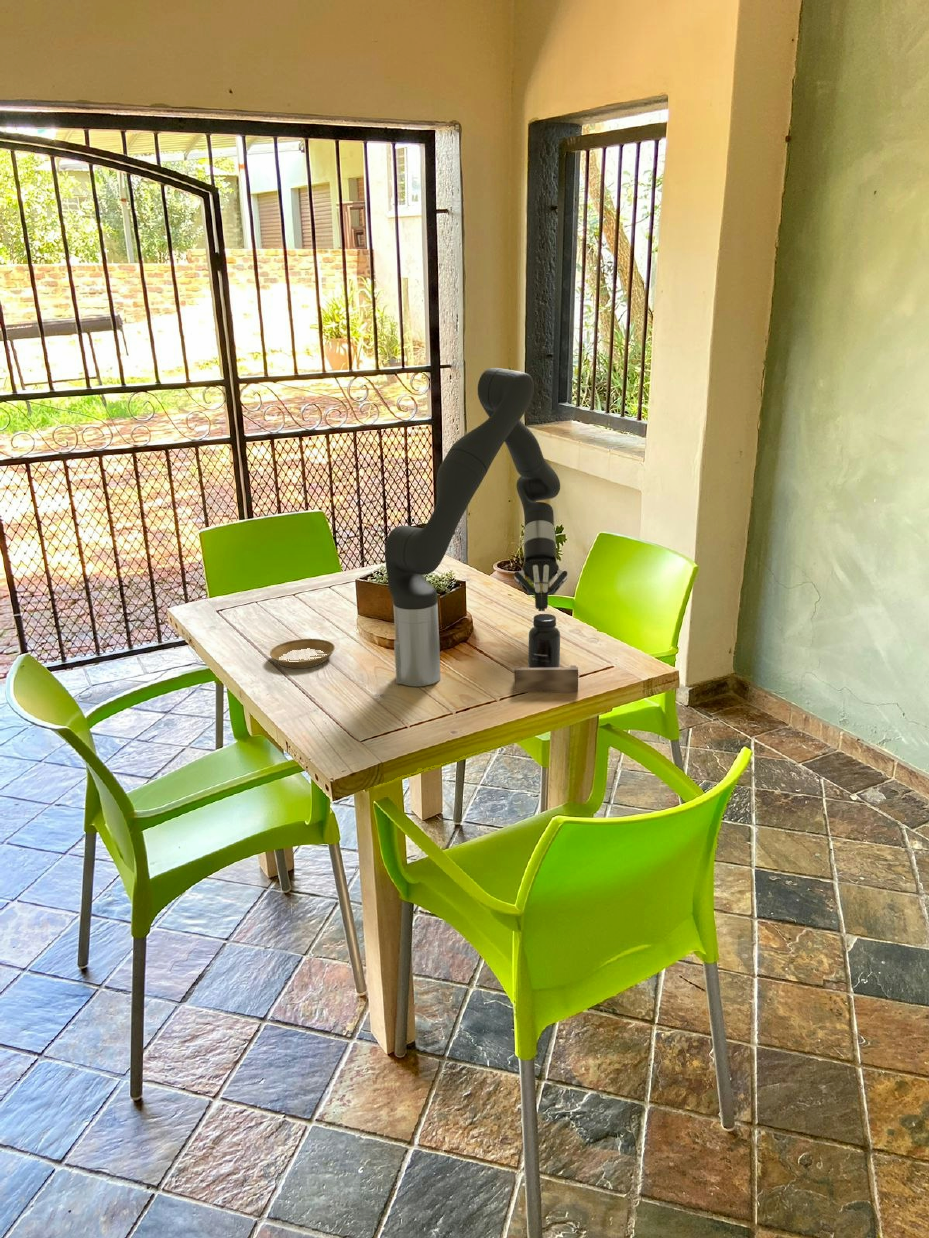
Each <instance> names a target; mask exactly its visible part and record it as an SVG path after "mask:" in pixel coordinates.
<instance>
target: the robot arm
mask: <svg viewBox="0 0 929 1238" xmlns="http://www.w3.org/2000/svg"><path fill="white" fill-rule="evenodd" d="M534 389H535V384H534V379H533V378H532V376H531V375H530V374H529V373H527V372H523V371H520V370H513V369H506V368H501V367H500V368H499V367H489V368H487V369H486V370H484V371H483V372H482V373H481V374H480V377H479V379H478V383H477V397H478V400H479V403H480V405H481V407H482V408H483V410H484V411H485V413H486V415H487V416H488V419H486V420H485V421H484V422H482V423H481V424H480V425H478V426H477V427H475V428H474V429H472V430H471V431H469V432H467V433H465V435H463V436H461V438H460V437H459V439H458V440H457V441H455V442H454V443H453V445H451V447H450V448H449V450H448V452H447V454H446V455H445V457H444V458H443V460H442V462H441V464H440V466H439V468H438V470H437V474H436V483H435V484H436V485H435V487H436V504H435V507H434V510H433V511H432V514H431V516H430V517H429V519H428V521H427V523H426V524H425V525H424V527H423V528H421V527H415V526H410V525H398V526H396V527H394V528H393V529H392V530H391V531H390V532H389V534H388V535H387V539H386V541H385V546H384V547H385V548H384V559H385V561H384V562H385V570H386V577H387V586H388V590H389V592H390V595H391V597H392V605H393V618H394V619H393V620H394V637H395V638H394V642H393V647H394V648H393V649H394V650H393V652H394V663H395V664H394V665H395V667H394V668H395V681H396V682H395V683H396V684H397V685H398V684H399V685H404V686H408V687H425V686H430V685H434V684H436V683H438V682H439V680H441V677H442V676H441V657H440V654H441V653H440V634H439V630H440V629H439V613H438V612H439V609H438V608H439V607H438V593H437V590H436V589H437V588H435V586H434V585H432V584H431V583H430V582H429V581H428V580H427V579H426V578H425V575H429V574H431V573H434V572H435V571H436V570H437V568H439V566H440V564H441V563H442V561H443V559H444V557H445V555H446V553H447V550H448V548H449V546H450V544H451V541H452V539H453V537H454V534H455V532H456V529H457V528H458V526H459V523H460V521H461V519H462V518H463V515H464V514H465V511H466V510H467V509H468V506H469V505H470V502H471V501H472V499H473V497H474V496H475V494H476V492H477V490H478V489H479V487H481V486H480V485H481V484H482V482H483V480H484V478H485V476H486V475H487V473H488V471H489V470H490V468H491V465H492V463H493V461H495V460H494V459H495V458H496V456H498V455H497V454H498V453H499V451H500V450H501V447H502V446H503V444H504V443H505V445H506V447H507V449H508V452H509V453H510V457H511V459H512V462H513V464H514V467H515V470H516V471H517V473H518V474H519V475H520V476H519V477H518V479H517V481H516V484H515V485H516V491H517V494H518V497H519V500H520V502H521V505H522V509H523V514H524V518H523V519H524V532H523V533H524V534H523V554H524V555H523V557H524V558H523V559H524V563H523V565H522V567H521V568H522V569H521V570H520V571H515V572H514V575H513V577H514V581H515V582H516V583H517V584H518V585H519V586H520V587H521V588H522V590H523V591H524V592H525V593H526V595H528V596H534V606H535V609H537V610H538V612H545V610H547V609H548V608H549V607H548V605H549V604H548V602H549V601H548V599H549V597H548V596H550V595H552V596H554V595H555V594H556V593H557V592H558V590H559V589H560V588H561V587H562V586H563V584H564V583H565V582H566V581H567V580H568V571H566V570H562V569H560V567H559V564H558V563H557V545H556V544H557V541H556V531H555V521H554V519H555V516H554V509H553V507H552V506H551V504H549V503H547V502H543V501H546V500H552V499H555V498H556V497H557V496H558V495H559V493H560V491H561V481H560V478H559V476H558V474H557V473H556V471H555V470H554V469H553V467H551V465H550V464H549V463H548V462H547V460H546V459H545V457H544V455H543V453H542V449H541V446H540V443H539V441H538V440H537V438H536V436H535V435H534V433H533V432H532V430H530V429H529V428H528V427H527V426H526V425H525V423H524V422H522V420H521V419H522V417H523V416H524V414H525V412H526V411H527V410H528V407H529V406H530V404H531V402H532V399H533V397H534ZM554 577H556V579H555V580H554V582H553V583H552V584H551V585H550V586H549V583H551V582H552V580H553V579H554ZM526 578H527V579H528V580H529V581H530V582H531V583H533V586H532V585H531V584H530V583H529V581H528V580H526ZM541 584H542V589H541V586H540V585H541Z"/></svg>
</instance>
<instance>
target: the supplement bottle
mask: <svg viewBox="0 0 929 1238" xmlns="http://www.w3.org/2000/svg"><path fill="white" fill-rule="evenodd" d="M532 625H533V627H532V628H530V630H529V632H528V666H527V667H528V668H550V667H560V665H561V664H560V659H561V657H560V655H561V632H560V630H559V629H558V628H557V627H556V626H557V618H556V616H555V615H553V614H550V613H540V614H539V613H538V614H535V615H534V616H533V623H532Z"/></svg>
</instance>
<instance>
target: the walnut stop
mask: <svg viewBox="0 0 929 1238" xmlns="http://www.w3.org/2000/svg"><path fill="white" fill-rule="evenodd" d="M513 668H514V669H513V670H514V672H513V673H514V674H513V675H514V678H513V679H514V693H578V692H579V667H577V665H570V667H569V666H568V667H560V666H559V667H550V668H529V667H521V665H514V666H513ZM560 691H561V692H560ZM577 691H578V692H577Z"/></svg>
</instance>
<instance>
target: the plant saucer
mask: <svg viewBox="0 0 929 1238" xmlns="http://www.w3.org/2000/svg"><path fill="white" fill-rule="evenodd" d="M307 648H310V649H315V650H321V651H323V652H324V653H317V654H327V655H325V656H324V655H323V656H322V655H317V656H316V655H315V656H310V657H321V658H316V659H315V658H314V659H310V660H309V659H308V660H304V659H301V660H300V659H299V660H290V659H289V661H299V662H289V661H288V659H287V661H286V660H279V657H281V656H283V654H287V653H288V652H290V651H292V650H301V649H307ZM335 649H336V647H335V644H334V643H333V642H331V641H330V640H325V639H320V638H301V639H299V638H298V639H294V640H289V641H286V642H282V643H280V644H277V645H276V646H274V647H273V648H271V650H270V652H269V656H270V657H271V659H273V660H274V661H275V662H276V663H277V664H279V665H281V666H282V667H284V666H285V667H284V668H288V667H290V668H289V669H306V668H305V667H307V668H312V667H316V666H318V665H321V664H323V663H325V662H326V661H327V660H328V659H329V658H330V657H331V656H332V654H333V653H334V651H335Z"/></svg>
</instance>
